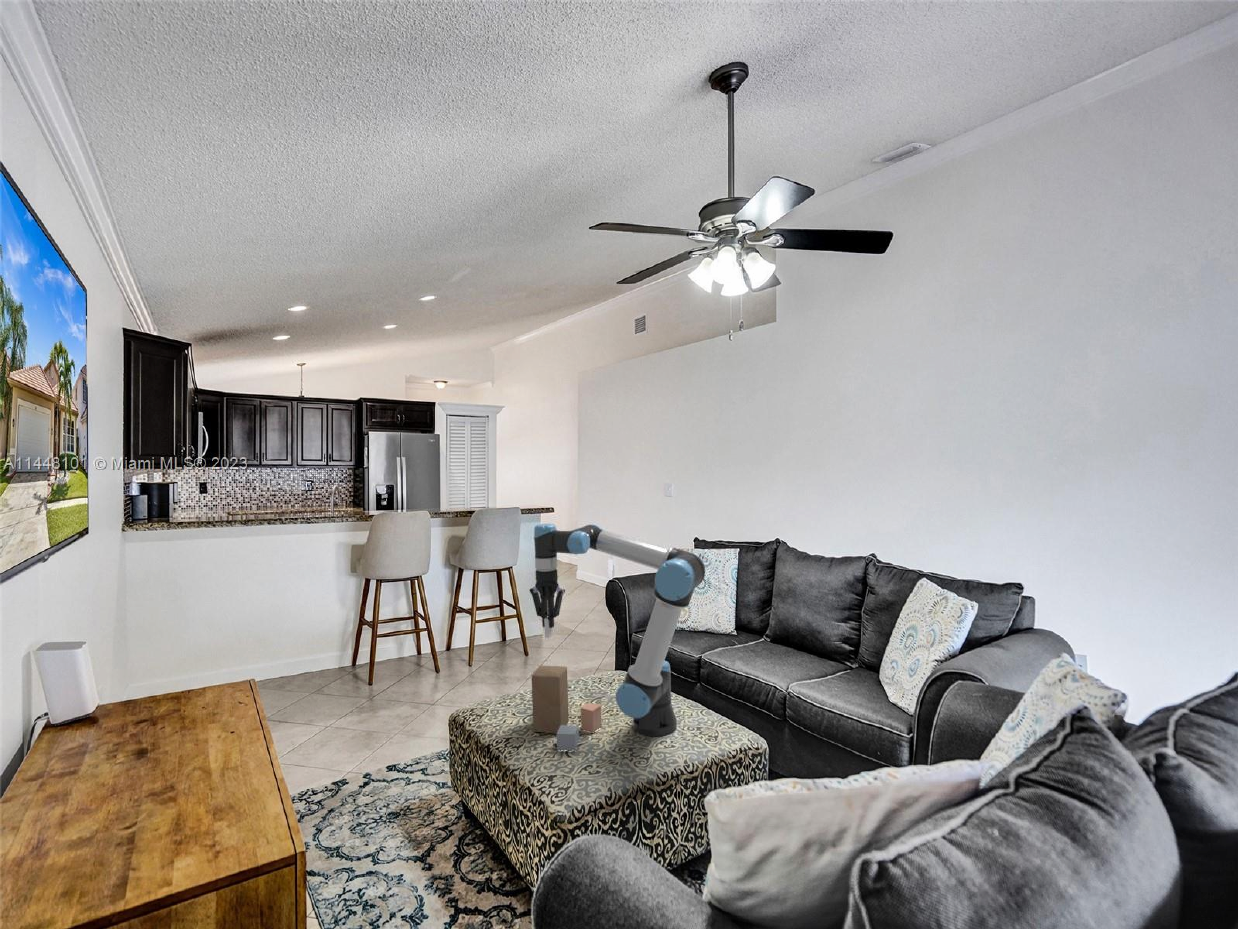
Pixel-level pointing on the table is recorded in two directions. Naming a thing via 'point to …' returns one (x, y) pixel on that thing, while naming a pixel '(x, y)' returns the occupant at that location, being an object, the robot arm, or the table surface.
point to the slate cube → (567, 737)
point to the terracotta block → (591, 717)
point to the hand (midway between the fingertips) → (548, 636)
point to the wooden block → (549, 698)
